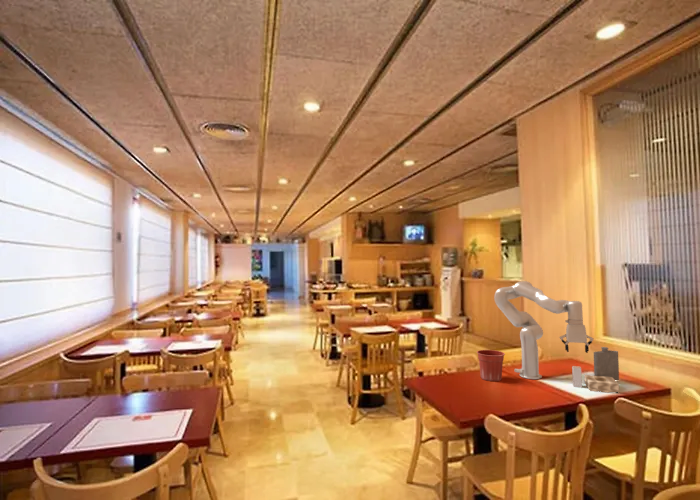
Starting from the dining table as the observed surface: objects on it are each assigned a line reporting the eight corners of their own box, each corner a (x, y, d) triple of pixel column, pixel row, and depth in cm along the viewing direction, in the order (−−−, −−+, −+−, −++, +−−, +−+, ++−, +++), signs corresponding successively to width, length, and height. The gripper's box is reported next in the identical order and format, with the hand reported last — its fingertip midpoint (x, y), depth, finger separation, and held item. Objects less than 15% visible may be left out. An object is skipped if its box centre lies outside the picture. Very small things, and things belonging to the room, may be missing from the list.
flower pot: (501, 375, 254) (500, 349, 254) (508, 382, 237) (508, 355, 238) (474, 374, 255) (474, 349, 256) (480, 382, 239) (480, 355, 239)
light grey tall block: (573, 386, 228) (573, 367, 229) (572, 384, 232) (572, 365, 232) (581, 387, 227) (581, 368, 227) (580, 385, 231) (579, 366, 231)
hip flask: (597, 382, 235) (596, 348, 236) (592, 380, 239) (591, 347, 240) (620, 380, 238) (619, 347, 239) (614, 379, 242) (613, 346, 243)
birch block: (589, 390, 221) (589, 381, 221) (584, 383, 234) (584, 374, 234) (619, 393, 216) (618, 384, 216) (612, 385, 229) (612, 377, 229)
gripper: (559, 322, 230) (561, 352, 229) (594, 323, 224) (595, 354, 223) (558, 321, 237) (559, 349, 236) (591, 321, 231) (592, 351, 230)
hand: (576, 352), depth 230 cm, fingers open, 9 cm apart
